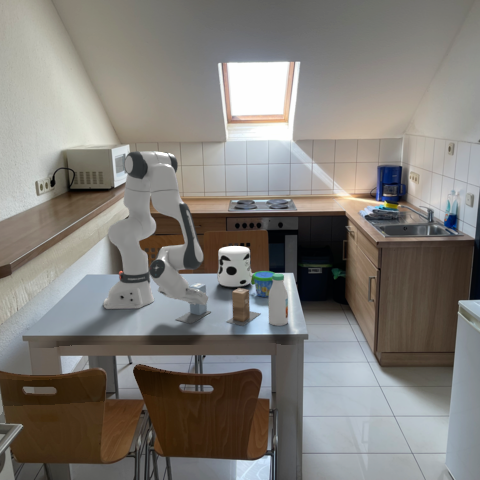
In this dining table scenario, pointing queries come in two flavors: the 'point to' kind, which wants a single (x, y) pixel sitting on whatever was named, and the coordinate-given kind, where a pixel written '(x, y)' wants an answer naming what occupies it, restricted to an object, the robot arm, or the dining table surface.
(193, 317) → the grey flat block
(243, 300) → the wooden box
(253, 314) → the grey rectangular plate
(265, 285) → the snack cup
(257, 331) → the dining table surface
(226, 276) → the milk container
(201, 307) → the rectangular block
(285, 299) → the milk bottle
